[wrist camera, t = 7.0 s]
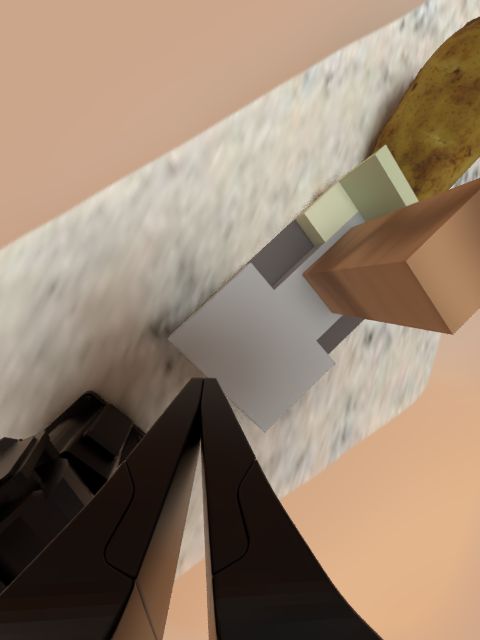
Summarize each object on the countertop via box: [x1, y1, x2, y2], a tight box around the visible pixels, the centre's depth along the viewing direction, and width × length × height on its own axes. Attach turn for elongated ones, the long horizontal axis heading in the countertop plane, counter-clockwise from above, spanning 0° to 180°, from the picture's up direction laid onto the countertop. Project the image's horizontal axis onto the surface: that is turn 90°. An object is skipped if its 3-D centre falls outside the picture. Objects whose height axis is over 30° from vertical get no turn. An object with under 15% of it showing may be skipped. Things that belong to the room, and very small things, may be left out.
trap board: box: [168, 145, 419, 432], centre depth 19 cm, size 20×12×6 cm, turn 132°
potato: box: [373, 17, 480, 201], centre depth 18 cm, size 8×13×8 cm, turn 139°
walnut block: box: [302, 178, 480, 335], centre depth 16 cm, size 6×4×10 cm
